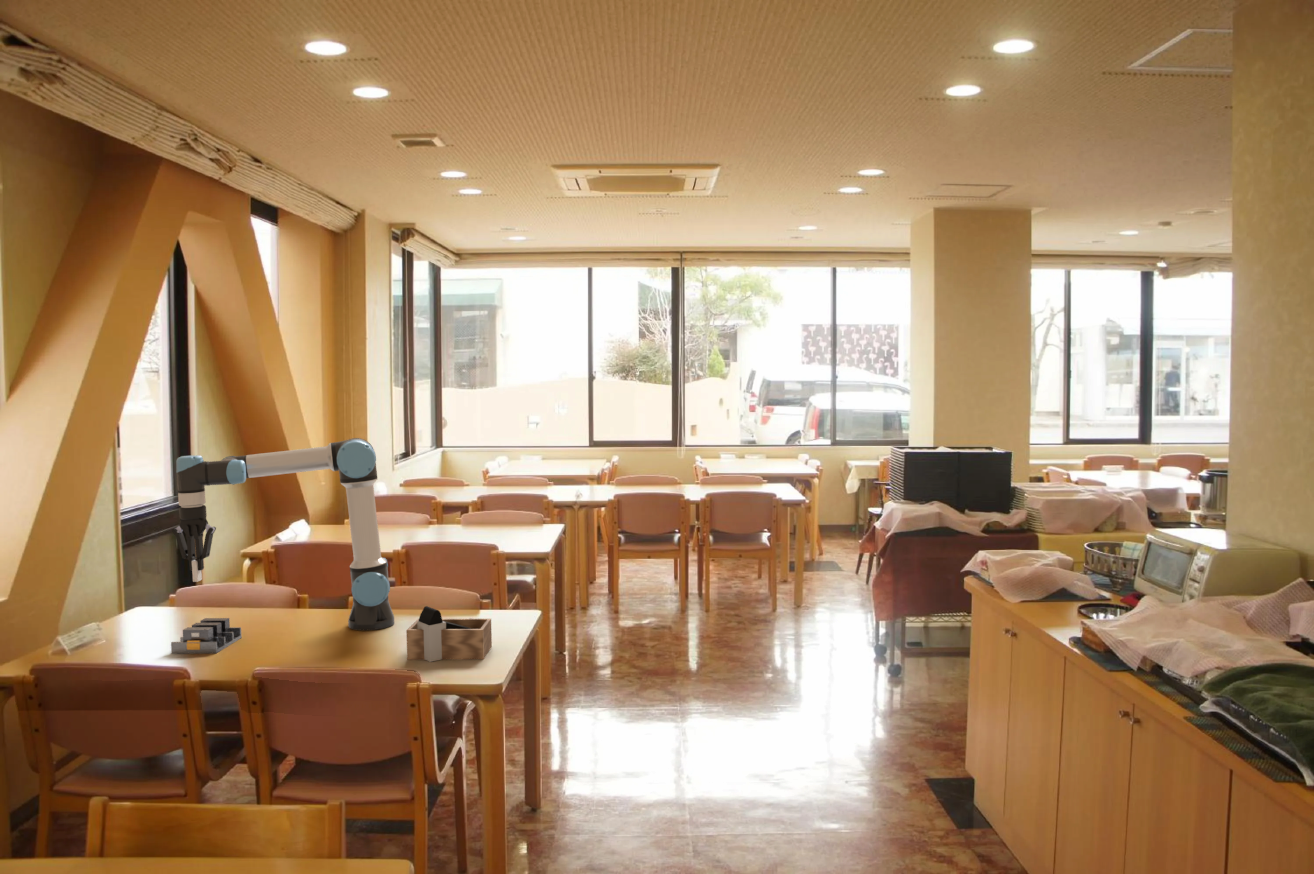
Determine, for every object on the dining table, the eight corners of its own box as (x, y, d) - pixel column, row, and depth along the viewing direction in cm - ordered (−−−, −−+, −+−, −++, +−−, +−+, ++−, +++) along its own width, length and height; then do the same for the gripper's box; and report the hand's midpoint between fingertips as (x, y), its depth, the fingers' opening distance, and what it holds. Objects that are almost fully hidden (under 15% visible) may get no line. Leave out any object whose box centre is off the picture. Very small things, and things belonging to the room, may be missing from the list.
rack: (241, 637, 313) (240, 616, 312) (215, 653, 295) (215, 631, 295) (199, 637, 313) (198, 616, 312) (171, 653, 296) (170, 631, 295)
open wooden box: (491, 646, 299) (491, 618, 299) (483, 659, 286) (482, 629, 286) (418, 646, 300) (418, 618, 299) (407, 659, 287) (406, 630, 286)
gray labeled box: (213, 645, 300) (212, 627, 300) (208, 648, 297) (207, 629, 296) (188, 646, 300) (187, 627, 300) (183, 648, 297) (182, 630, 297)
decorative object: (483, 649, 296) (481, 601, 295) (430, 661, 284) (428, 612, 283) (469, 644, 302) (468, 597, 301) (417, 655, 290) (415, 607, 289)
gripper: (219, 503, 299) (223, 577, 301) (177, 504, 299) (183, 578, 301) (207, 506, 292) (212, 582, 293) (165, 507, 292) (170, 583, 294)
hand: (197, 580), depth 297 cm, fingers closed
